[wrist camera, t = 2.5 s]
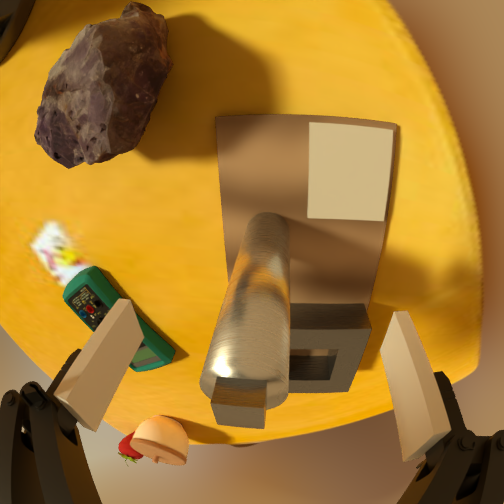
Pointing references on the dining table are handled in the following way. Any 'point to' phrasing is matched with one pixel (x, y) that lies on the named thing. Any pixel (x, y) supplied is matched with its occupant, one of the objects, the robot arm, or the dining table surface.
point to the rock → (104, 88)
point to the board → (295, 208)
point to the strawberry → (128, 449)
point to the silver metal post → (252, 329)
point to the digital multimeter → (97, 307)
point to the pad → (348, 171)
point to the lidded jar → (161, 440)
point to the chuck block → (326, 345)
